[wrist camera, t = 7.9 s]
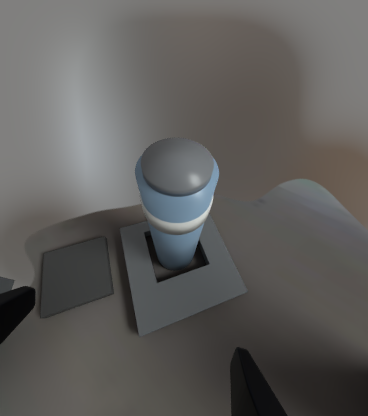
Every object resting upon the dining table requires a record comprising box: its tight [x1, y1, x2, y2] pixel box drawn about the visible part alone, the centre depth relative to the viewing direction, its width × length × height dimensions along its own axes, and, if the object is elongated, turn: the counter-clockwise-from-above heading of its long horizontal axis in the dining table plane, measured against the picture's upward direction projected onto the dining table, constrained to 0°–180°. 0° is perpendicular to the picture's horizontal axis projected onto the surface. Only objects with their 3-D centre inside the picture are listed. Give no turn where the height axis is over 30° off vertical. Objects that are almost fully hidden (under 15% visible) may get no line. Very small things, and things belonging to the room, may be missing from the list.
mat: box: [40, 236, 114, 318], centre depth 21 cm, size 7×7×1 cm
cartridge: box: [135, 138, 219, 271], centre depth 16 cm, size 5×5×16 cm
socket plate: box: [120, 213, 248, 337], centre depth 22 cm, size 12×12×2 cm
